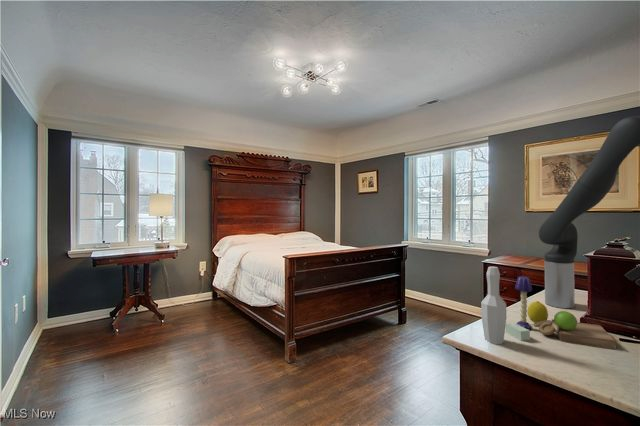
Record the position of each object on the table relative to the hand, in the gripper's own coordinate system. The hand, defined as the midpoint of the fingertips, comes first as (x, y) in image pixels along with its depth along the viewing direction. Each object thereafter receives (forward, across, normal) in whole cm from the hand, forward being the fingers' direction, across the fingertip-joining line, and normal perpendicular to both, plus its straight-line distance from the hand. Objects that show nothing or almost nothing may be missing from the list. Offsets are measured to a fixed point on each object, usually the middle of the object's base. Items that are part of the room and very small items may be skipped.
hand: (633, 281), depth 85 cm
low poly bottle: (+37, +15, -11) cm, 41 cm away
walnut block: (+21, 0, +5) cm, 22 cm away
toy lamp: (+31, 0, -5) cm, 31 cm away
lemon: (+28, -5, -2) cm, 29 cm away
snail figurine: (+17, +2, -1) cm, 17 cm away
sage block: (+32, +8, -6) cm, 34 cm away
